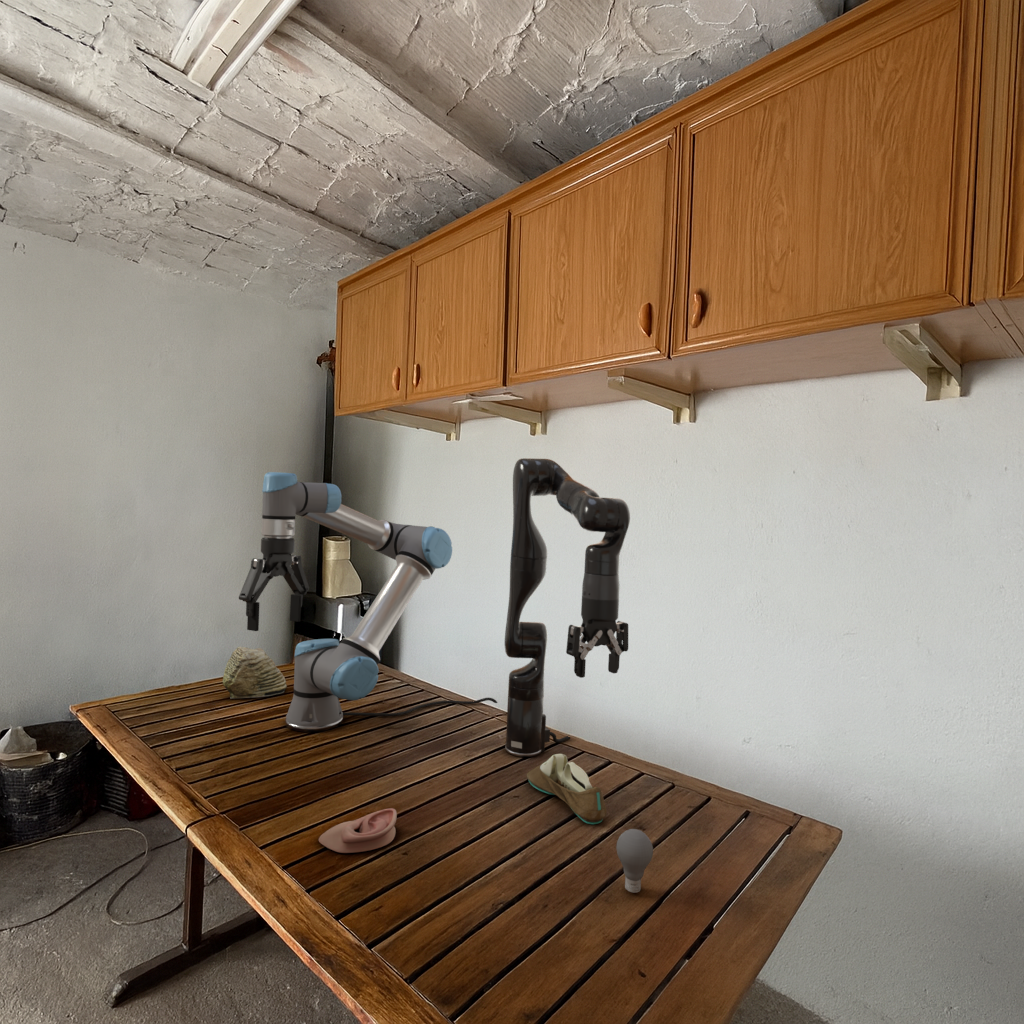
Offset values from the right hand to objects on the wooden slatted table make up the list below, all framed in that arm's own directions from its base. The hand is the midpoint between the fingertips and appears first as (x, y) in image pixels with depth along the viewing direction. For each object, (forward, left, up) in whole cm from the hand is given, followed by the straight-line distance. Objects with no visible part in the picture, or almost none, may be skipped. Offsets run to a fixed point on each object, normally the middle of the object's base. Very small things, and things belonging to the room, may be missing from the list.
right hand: (596, 674), depth 129 cm
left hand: (+56, -54, +2) cm, 78 cm away
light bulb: (+8, +23, -30) cm, 38 cm away
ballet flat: (+1, -9, -30) cm, 31 cm away
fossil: (+55, -105, -30) cm, 122 cm away
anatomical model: (+45, -10, -30) cm, 55 cm away
